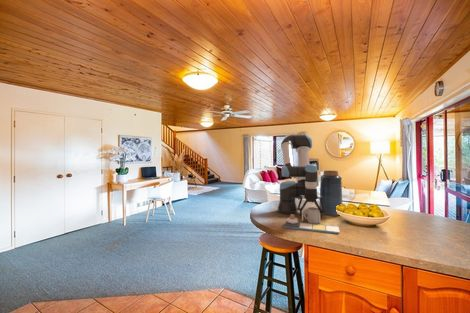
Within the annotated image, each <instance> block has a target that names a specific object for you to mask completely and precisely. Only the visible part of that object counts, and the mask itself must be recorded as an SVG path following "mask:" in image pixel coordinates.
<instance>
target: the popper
mask: <svg viewBox="0 0 470 313" xmlns="http://www.w3.org/2000/svg"><path fill="white" fill-rule="evenodd" d="M286 221H287V222H288V223H292V224H295V223H298V221H299V220H298V217H296V216H295V214H289V217H287V219H286Z"/></svg>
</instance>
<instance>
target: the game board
mask: <svg viewBox="0 0 470 313" xmlns="http://www.w3.org/2000/svg"><path fill="white" fill-rule="evenodd" d="M283 229H289V230H290V229H291V230H299V231H307V232H308V231H309V232H315V233H316V232H317V233H323V232H324V233H326V234H333V235H339V233H340V228H339V226H336V225H327V224H320V223H318V224H311V223H308V222H301V221H299V220H298V223H295V224H292V223H288V222H287V220H286V221H285V223H284V225H283ZM324 233H323V234H324Z"/></svg>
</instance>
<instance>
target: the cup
mask: <svg viewBox="0 0 470 313" xmlns="http://www.w3.org/2000/svg"><path fill="white" fill-rule="evenodd" d="M319 212H320V211H319V209H318V208H317V207H314V206H313V207H312V206H311V207H310V206H309V207H307V208H306V209H303V219H305V220H307V223H310V224H320V223H319ZM306 214H307V215H306Z"/></svg>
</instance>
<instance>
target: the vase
mask: <svg viewBox="0 0 470 313" xmlns="http://www.w3.org/2000/svg"><path fill="white" fill-rule="evenodd" d="M319 178H320V180H319V182H320V184H319V197H321V196H322V202H323V205H324V208H325V212H323V213H322V215H325V216H329V217H330V216H332V217H333V216H334V217H335V216H337V217H339V216H338V214H337V212H336V206H337V205H340V204H343V191H342V190H343V187H342V186H343V184H342V177H341V175H339V171H338V170H324V171H323V175H321V176H320V177H319ZM318 205H319V206H320V208H321V210H323V209H322V206H321V203H320V201H319V204H318Z"/></svg>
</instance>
